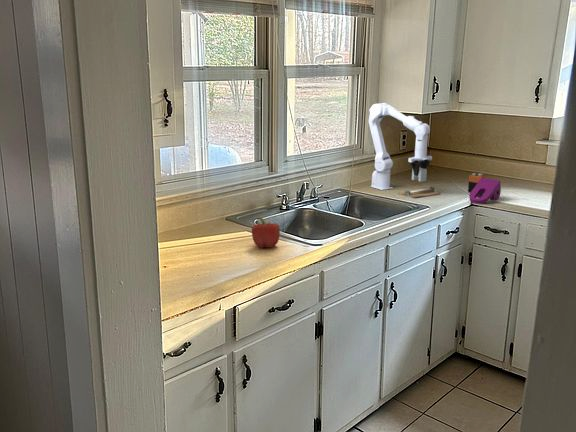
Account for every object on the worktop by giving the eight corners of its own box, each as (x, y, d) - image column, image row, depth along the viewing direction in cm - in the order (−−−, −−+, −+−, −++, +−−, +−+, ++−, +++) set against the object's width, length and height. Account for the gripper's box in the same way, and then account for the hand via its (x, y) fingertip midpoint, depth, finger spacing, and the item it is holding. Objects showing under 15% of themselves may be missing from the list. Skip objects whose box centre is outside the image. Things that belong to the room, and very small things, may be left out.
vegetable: (245, 244, 214) (245, 218, 212) (269, 240, 220) (269, 214, 217) (261, 252, 206) (261, 225, 203) (285, 247, 211) (285, 221, 209)
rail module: (411, 179, 297) (412, 167, 296) (417, 178, 300) (418, 167, 298) (420, 181, 293) (421, 169, 291) (426, 180, 295) (426, 168, 293)
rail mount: (398, 193, 296) (399, 188, 296) (424, 190, 306) (424, 184, 305) (414, 198, 287) (414, 192, 287) (440, 194, 297) (440, 188, 296)
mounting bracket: (486, 216, 280) (501, 194, 290) (484, 201, 276) (500, 180, 285) (467, 212, 286) (483, 191, 296) (465, 198, 282) (481, 177, 291)
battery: (480, 194, 298) (482, 175, 295) (467, 192, 302) (469, 173, 300) (483, 193, 301) (485, 173, 299) (471, 190, 305) (472, 172, 303)
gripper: (416, 150, 285) (414, 178, 288) (437, 148, 293) (435, 175, 296) (406, 148, 290) (404, 175, 294) (426, 146, 298) (424, 172, 302)
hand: (419, 175), depth 295 cm, fingers closed on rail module, 4 cm apart
